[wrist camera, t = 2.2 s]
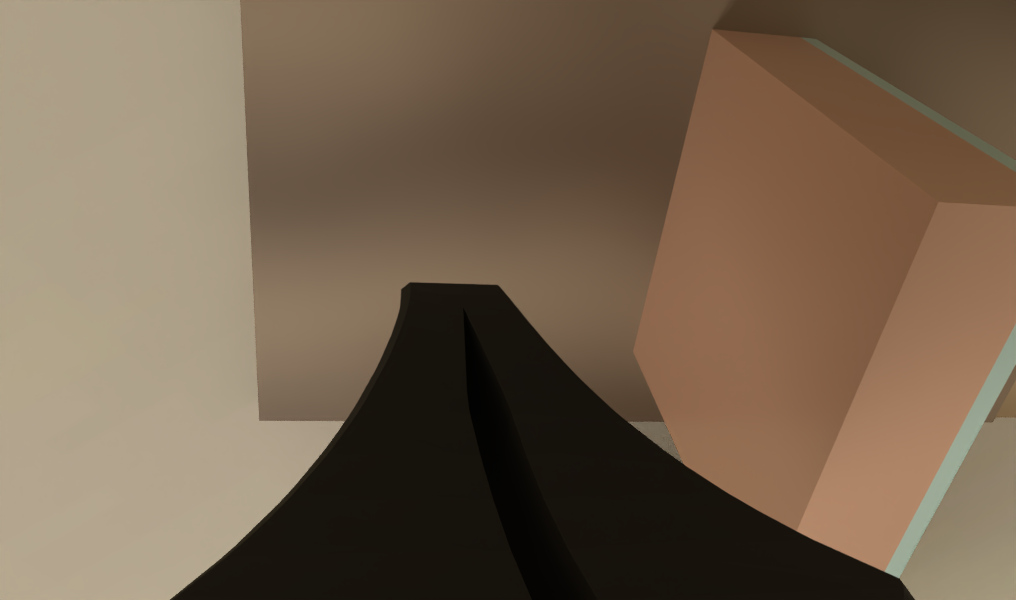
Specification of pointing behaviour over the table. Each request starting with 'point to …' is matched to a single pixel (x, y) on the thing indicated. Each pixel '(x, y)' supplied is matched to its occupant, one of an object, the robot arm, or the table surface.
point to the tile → (829, 294)
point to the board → (521, 160)
